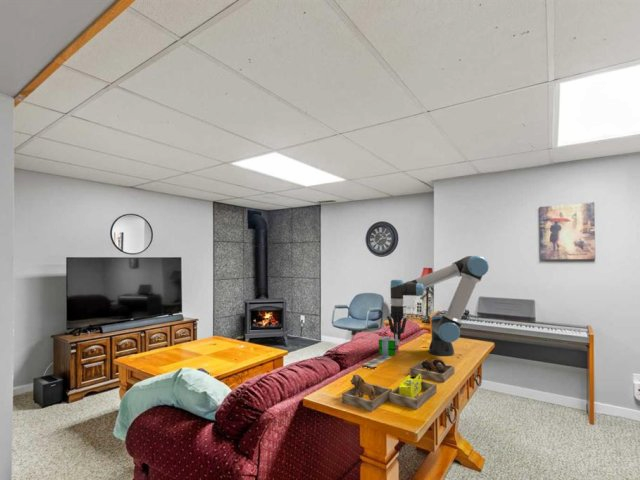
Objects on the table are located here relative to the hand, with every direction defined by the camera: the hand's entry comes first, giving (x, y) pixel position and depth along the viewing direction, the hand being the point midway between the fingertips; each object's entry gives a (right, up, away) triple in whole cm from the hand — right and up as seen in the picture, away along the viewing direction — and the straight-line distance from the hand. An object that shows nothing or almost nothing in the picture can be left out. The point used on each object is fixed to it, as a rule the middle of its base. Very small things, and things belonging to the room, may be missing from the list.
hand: (397, 344), depth 206 cm
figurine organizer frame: (-27, -4, -63) cm, 69 cm away
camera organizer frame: (-7, -4, -60) cm, 60 cm away
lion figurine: (-28, -4, -62) cm, 69 cm away
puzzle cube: (-4, -8, +5) cm, 10 cm away
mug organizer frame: (+11, -6, -30) cm, 33 cm away
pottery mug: (+12, -6, -29) cm, 32 cm away
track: (-14, -7, -12) cm, 20 cm away
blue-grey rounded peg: (-8, -6, -5) cm, 11 cm away
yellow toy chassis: (-7, -4, -59) cm, 59 cm away
